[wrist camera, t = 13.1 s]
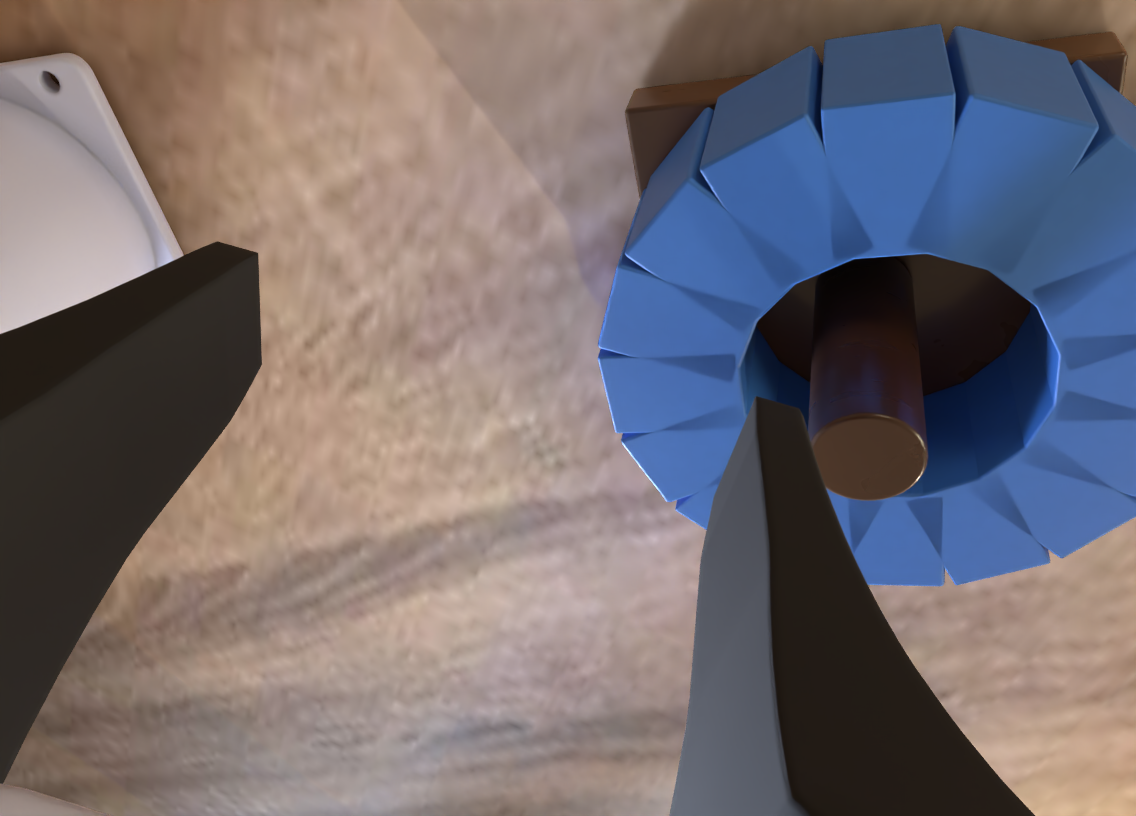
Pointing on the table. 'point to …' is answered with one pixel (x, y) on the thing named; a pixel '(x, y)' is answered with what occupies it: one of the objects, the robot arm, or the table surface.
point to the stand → (871, 312)
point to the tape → (894, 228)
